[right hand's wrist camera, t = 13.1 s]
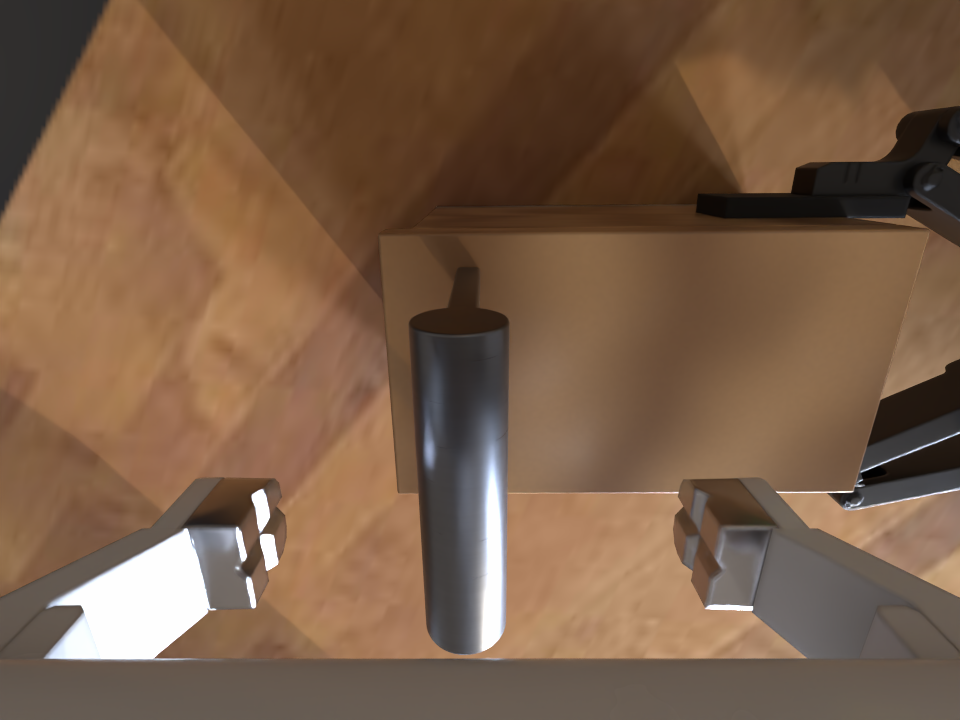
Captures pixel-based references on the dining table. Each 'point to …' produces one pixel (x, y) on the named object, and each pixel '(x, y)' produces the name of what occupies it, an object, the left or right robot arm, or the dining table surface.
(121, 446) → the dining table surface
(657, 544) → the dining table surface
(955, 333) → the dining table surface
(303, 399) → the dining table surface
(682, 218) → the chest
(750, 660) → the right robot arm
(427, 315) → the lid
